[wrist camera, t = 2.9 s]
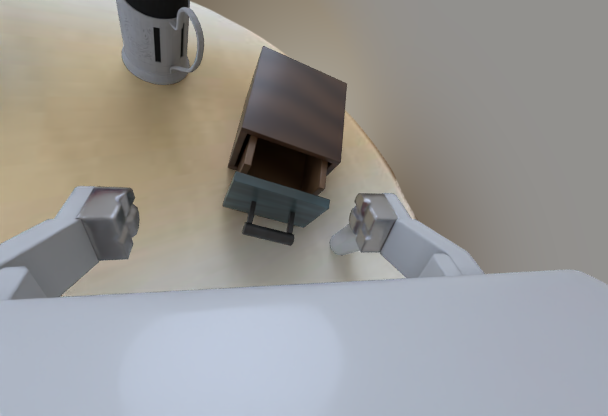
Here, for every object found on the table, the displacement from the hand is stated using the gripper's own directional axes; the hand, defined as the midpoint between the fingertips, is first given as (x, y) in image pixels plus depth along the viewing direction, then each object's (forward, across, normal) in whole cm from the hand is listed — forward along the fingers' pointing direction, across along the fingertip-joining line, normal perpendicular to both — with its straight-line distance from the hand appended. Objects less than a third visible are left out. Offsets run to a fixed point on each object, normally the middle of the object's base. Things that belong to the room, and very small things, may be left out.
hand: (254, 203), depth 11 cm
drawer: (+24, -4, +18) cm, 30 cm away
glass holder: (+39, +10, +8) cm, 41 cm away
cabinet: (+32, -6, +15) cm, 36 cm away
